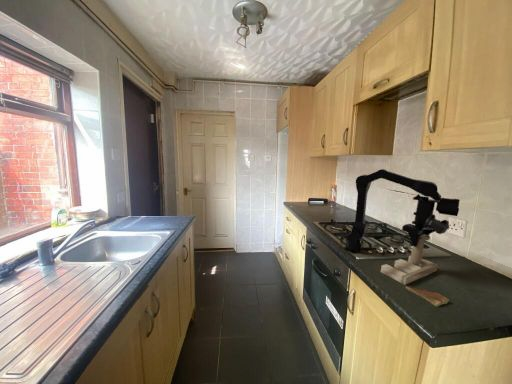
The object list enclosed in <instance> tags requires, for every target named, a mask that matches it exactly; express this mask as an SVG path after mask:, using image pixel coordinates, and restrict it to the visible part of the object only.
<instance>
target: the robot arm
mask: <svg viewBox="0 0 512 384" xmlns="http://www.w3.org/2000/svg"><path fill="white" fill-rule="evenodd" d="M379 179H383V180H387V181H389V182H392V183H395V184H397V185H401V186H403V187H407V188H410V189H411V190H413V191H414V192H417V193H418V194H417V195H415V196H413V197H412V200H413V201H417V205H416V209H415V211H414V212H413V214H412V215H414V220H412V221H411V223H407V224H404V225H402V229H401V231H403V232H405V233H407V234H408V236H409V238H410V241H411V243H412V247H413V246H415V247H417V245H418V242H419V239H420V237H421V236H422V235H424V234H425V235H428V236H430V234H433V233H437V234H438V235H442V234H445V233H446V231H447V230H449V229H450V221H448V220H447V219H443V220H440V219H437V218H436V215H435V214H434V209H435V211H436V212H438V214H439V215H440V214H441V215H446V216H452V217H458V215H459V210H460V208H459V206H460V199H459V198H447V197H446V198H445V197H442V194H440V193H439V192H438V190H439V189H438V185H437V184H436V183H435V182H433V181H428V180H421V179H416V178H415V179H414V178H411V177H407V176H404V175H402V174H399V173H395V172H393V171H388V170H387V169H384V168H382V169H379V170H377V171H375V172H372V173H369V174H362V175H359V176H358V177H356V178H355V188H356V192H357V200H356V206H355V207H356V209H355V218H354V219H355V220H354V222H353V225H352V228H351V231H350V232H349V233H348V234H346V235H345V239H346V240H345V242H346V243H345V246H344V247H343V249H344V250H346V251H347V252H350V253H352V254H356V253H359V252H362V240H361V239H362V238H363V237H364V236H365V235H366V234H367V233H368V232H369V231H368V230H369V229H368V227H369V224H368V223H366V222H365V221H366V220H365V219H366V210H367V200H368V198H367V197H368V192H369V190H370V187H371V184H372V182H374V181H377V180H379ZM435 204H436V208H435ZM425 243H426V241H424V244H425Z"/></svg>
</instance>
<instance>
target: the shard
mask: <svg viewBox="0 0 512 384" xmlns="http://www.w3.org/2000/svg"><path fill="white" fill-rule="evenodd" d="M404 286H405V289H406V290H407V291H409V292H411V293H414V294H415V295H417V296H419V297H421V298H422V299H423V300H425V301H426V302H428V303H430V304H431V305H433V306H435V307H439V306H442V305H446V304H448V303H449V302H450V300H449V298H447V297H445V296H444V295H442V294H440V293H439V292H436V291H433V290H428V289H423V288H419V287H414V286H413V287H412V286H409V285H404Z"/></svg>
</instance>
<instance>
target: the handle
mask: <svg viewBox="0 0 512 384" xmlns="http://www.w3.org/2000/svg"><path fill="white" fill-rule="evenodd" d="M430 239H431V236H430V235H429V236H428V235H425V234H424V235H422V236H421V237H420V239H419V242H418V245H417V247H415V246H413V245H412V250H411V252H410V256H411V259H410V260H411V262H410V263H412V264H414V265H416V266H420V263H421V260H422V259H423V256H424V255H423V252H424V246H425V245H424V244H425V243H424V241H425V242H427V241H430Z"/></svg>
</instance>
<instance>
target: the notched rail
mask: <svg viewBox="0 0 512 384" xmlns="http://www.w3.org/2000/svg"><path fill="white" fill-rule="evenodd" d="M410 259H411V255H409V256H408V260H404V259H402V258H399V259H397V260H395V261H394V266H391V265H389V264H387V263H386V264H382V265H381V268H380V273H381V274H383V275H386V276H387V277H389V278H391V279H393V280H395V281H396V282H398V283H400V284H403V285H404V286H407V285H408V284H410V283H412V282H414V281H415V282H416V281H417V280H419V279H422V278H424V277H427V276H429V275H430V274H433V273H434V272H437V270H438V264H437V263H435V262H432V261H429V260H427V259H424V258H422V260H421V263H420V266H416V265H414V264H412V263H410V262H411V260H410Z"/></svg>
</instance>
